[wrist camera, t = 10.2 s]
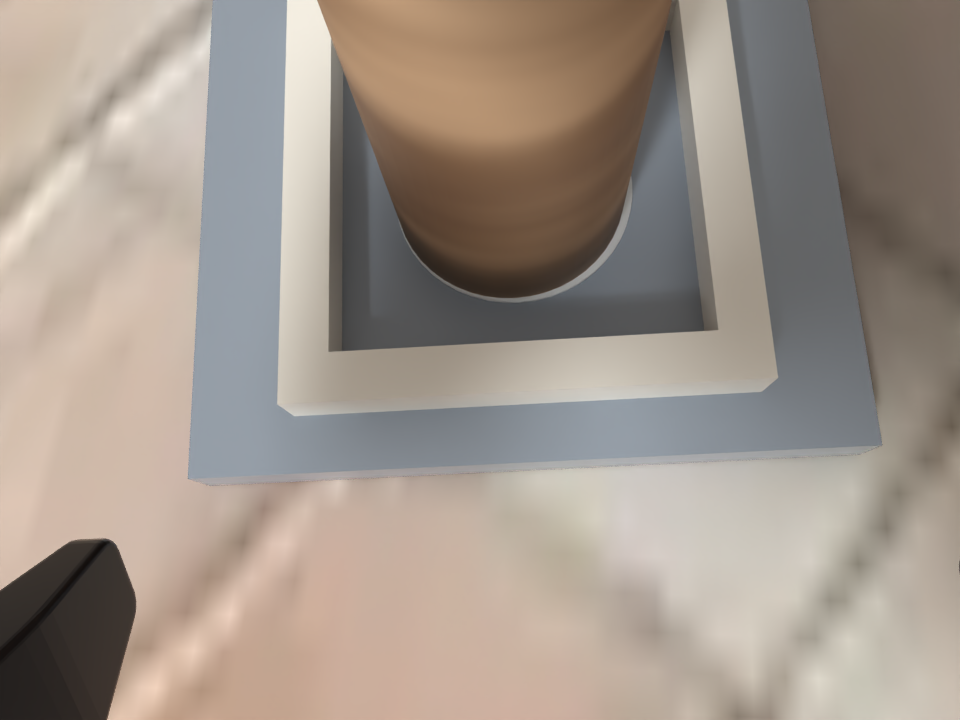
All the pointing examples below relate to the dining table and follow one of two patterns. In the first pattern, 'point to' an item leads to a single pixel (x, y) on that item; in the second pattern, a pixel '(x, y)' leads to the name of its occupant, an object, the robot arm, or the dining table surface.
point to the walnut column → (502, 126)
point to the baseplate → (534, 319)
